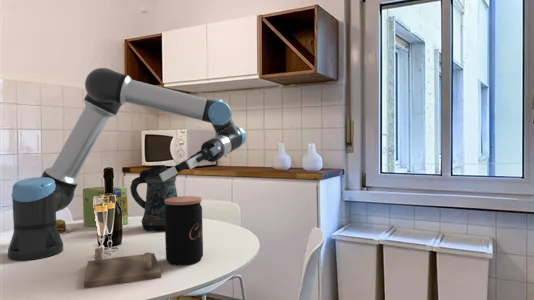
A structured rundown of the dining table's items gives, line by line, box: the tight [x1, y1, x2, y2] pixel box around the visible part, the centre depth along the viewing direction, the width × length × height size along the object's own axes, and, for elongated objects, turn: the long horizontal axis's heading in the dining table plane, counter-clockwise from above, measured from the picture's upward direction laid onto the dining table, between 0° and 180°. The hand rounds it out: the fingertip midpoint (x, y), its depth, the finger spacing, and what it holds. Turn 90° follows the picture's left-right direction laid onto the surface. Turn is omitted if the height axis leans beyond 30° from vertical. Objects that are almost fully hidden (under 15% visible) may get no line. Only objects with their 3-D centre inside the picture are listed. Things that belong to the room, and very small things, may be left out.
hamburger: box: [56, 219, 72, 235], centre depth 154 cm, size 12×12×6 cm
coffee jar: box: [164, 195, 204, 266], centre depth 115 cm, size 11×11×18 cm
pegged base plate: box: [83, 247, 162, 289], centre depth 107 cm, size 18×18×6 cm
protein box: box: [82, 186, 129, 228], centre depth 166 cm, size 10×15×16 cm
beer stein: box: [129, 164, 178, 233], centre depth 158 cm, size 16×19×25 cm
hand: (174, 171), depth 122 cm, fingers open, 13 cm apart
